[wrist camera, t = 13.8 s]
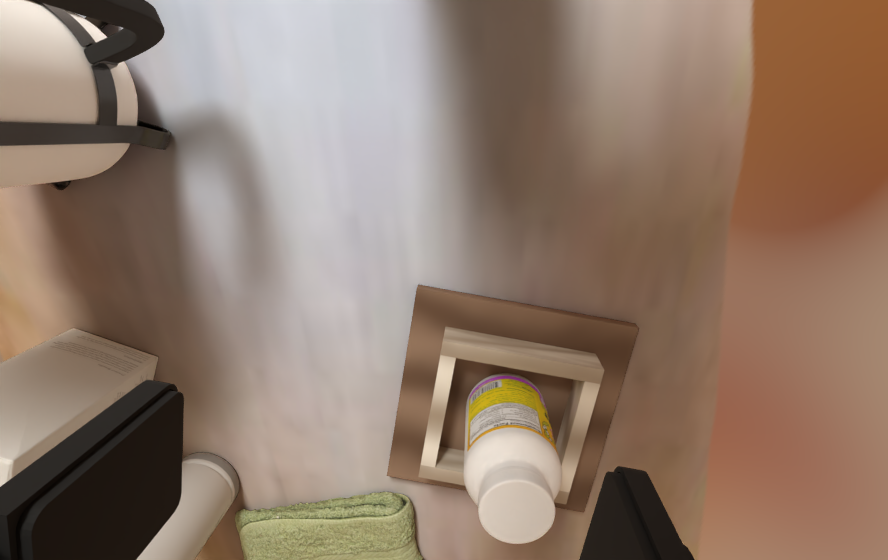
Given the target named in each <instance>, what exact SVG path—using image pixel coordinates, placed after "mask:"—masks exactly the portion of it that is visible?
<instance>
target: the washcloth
mask: <svg viewBox="0 0 888 560" xmlns="http://www.w3.org/2000/svg"><path fill="white" fill-rule="evenodd" d="M413 517H414V511H413V505H412V503H411V501H410V500H409V498H408V497H407V496H405V495H402V494H398V493H392V492H382V493H381V492H380V493H371V494H369V495H359V496H352V497H350V498H342V497H340V498H336V499H329V500H325V501H320V502H317V503H310V504H308V503H305V504H302V503H301V502H300V503H299V505H297V504H295V505H294V506H293V505H290V506H287V507H281V506H280V507H276V508H275V509H274V508H271V509H269V510H266V509H264V508H262V509H259V510H256V509H255V510H253V511H249V510H245V509H242V510H240V511H238V512H237V513H236V516H235V523H236V527H237V531H238V533H239V536H240V540H241V546H242V551H243V556H244V560H422V559H423V557H422V556H421V555H420V552H419V551H418V548H417V544H416V540H415V537H414V535H415V523H414V518H413Z"/></svg>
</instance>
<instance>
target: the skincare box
mask: <svg viewBox="0 0 888 560" xmlns="http://www.w3.org/2000/svg"><path fill="white" fill-rule="evenodd" d="M157 362H158V357H157V356H154V355H151V354H148V353H145V352H142V351H139V350H136V349H134V348H131V347H128V346H125V345H122V344H119V343H116V342H113V341H110V340H108V339H105V338H102V337H99V336H96V335H93V334H90V333H87V332H84V331H81V330H78V329H75V328H72V329H70V330H68V331H66V332H64V333H62V334H59V335H57V336H55V337H53V338H51V339H49V340H47V341H45V342H43V343H41V344H39V345H37V346H35V347H33V348H31V349H29V350H27V351H25V352H22V353H20V354H18V355H16V356H14V357H12V358H10V359H8V360H6V361H4V362H2V363H0V487H1V486H2V485H3V484H5V483H6V482H7V481H9V480H10V479H11V478H13V477H14V476H16V475H17V474H18V473H20V472H21V471H22V470H24V469H25V468H26V467H28V466H29V465H30V464H32V463H33V462H35V461H36V460H37V459H39V458H40V457H41V456H43V455H44V454H45V453H47V452H48V451H49V450H51V449H52V448H54V447H55V446H56V445H58V444H59V443H60V442H62V441H63V440H64V439H66V438H67V437H68V436H70V435H71V434H73V433H74V432H75V431H77V430H78V429H79V428H81V427H82V426H83V425H85V424H86V423H87V422H89V421H90V420H92V419H93V418H94V417H96V416H97V415H98V414H100V413H101V412H102V411H104V410H105V409H106V408H108V407H109V406H111V405H112V404H113V403H115V402H116V401H117V400H119V399H120V398H121V397H123V396H124V395H125V394H127V393H128V392H130V391H131V390H132V389H134V388H135V387H136V386H138V385H139V384H140V383H142V382H143V381H145V380H154V375H155V371H156V366H157Z"/></svg>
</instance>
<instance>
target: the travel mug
mask: <svg viewBox="0 0 888 560" xmlns="http://www.w3.org/2000/svg"><path fill="white" fill-rule="evenodd" d="M238 491H239V480H238V476H237V474H236V472H235V470H234V469H233V467H232V466H231V465H230V464H229V463H228V462H227V461H225V460H224V459H222V458H221V457H219V456H217V455H214V454H210V453H194V454H190V455H188V456H186V457H185V458H183V459H182V494H181V499H180V502H179V505H178V507H177V509H176V511H175V512H174V514H173V515H172V516H171V517H170V518H169V520H168V521H167V522H166V523H165V525H164V526H163V527H162V528H161V530H160V531H159V532H158V533H157V535H156V536H155V537H154V538H153V540H152V541H151V542H150V543H149V545H148V546H147V547H146V548H145V550H144V551H143V552H142V553H141V555H140V556H139V557H138V558H137V560H195V558H196V557H197V555H198V554H199V552H200V551H201V549H202V548H203V546H204V545H205V543H206V542H207V540H208V539H209V537H210V536H211V534H212V533H213V531H214V530H215V528H216V527H217V525H218V524H219V522H220V521H221V519H222V518H223V516H224V515H225V513H226V512H227V510H228V508H229V507H230V506H231V504H232V503H233V501H234V500H235V498H236V496H237V494H238Z"/></svg>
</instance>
